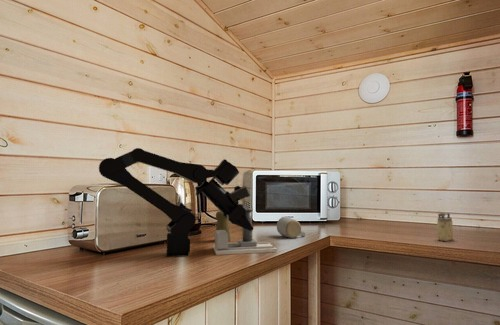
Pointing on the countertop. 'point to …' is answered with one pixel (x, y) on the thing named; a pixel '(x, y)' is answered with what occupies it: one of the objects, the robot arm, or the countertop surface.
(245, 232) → the press handle
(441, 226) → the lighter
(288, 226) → the ceramic mug
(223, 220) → the cork
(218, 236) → the press base
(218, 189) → the robot arm
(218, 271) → the countertop surface
